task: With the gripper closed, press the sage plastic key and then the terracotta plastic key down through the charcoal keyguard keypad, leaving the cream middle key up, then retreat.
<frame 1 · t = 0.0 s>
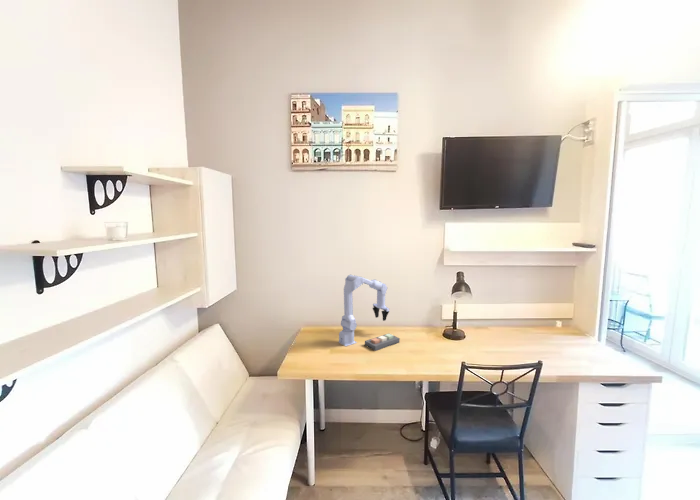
hand: (380, 318, 231), 10 cm above the table, tool pointing down, fingers open, 7 cm apart
terracotta key: (375, 340, 209), point 4 cm above the table, slide at 0.0 cm
sage key: (389, 336, 216), point 4 cm above the table, slide at 0.0 cm
keypad: (382, 343, 213), on the table
cream key: (382, 338, 213), point 4 cm above the table, slide at 0.0 cm
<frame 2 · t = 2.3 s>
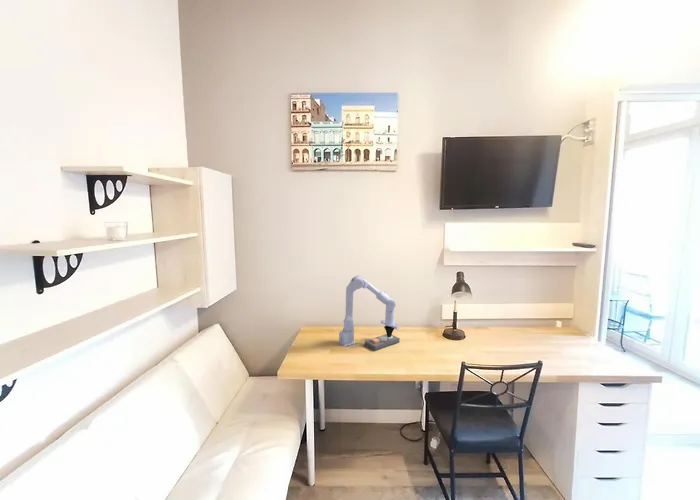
hand: (389, 336, 216), 3 cm above the table, tool pointing down, fingers closed, pressing on sage key
sage key: (389, 338, 216), point 2 cm above the table, slide at 1.1 cm, touching gripper
everything else where it was.
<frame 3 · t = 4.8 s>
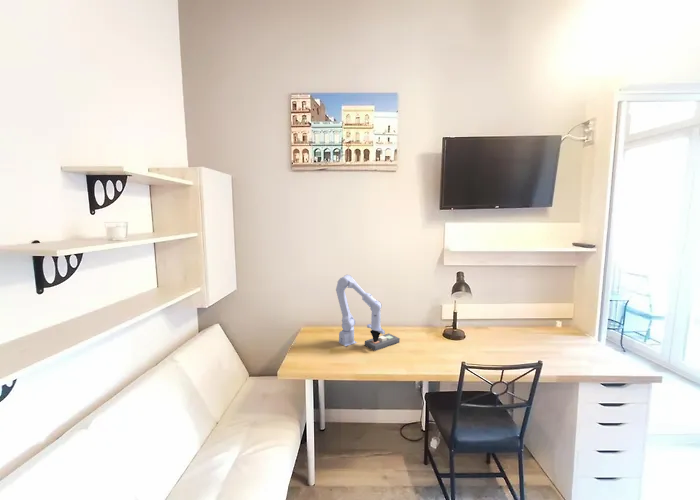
hand: (375, 341, 209), 3 cm above the table, tool pointing down, fingers closed, pressing on terracotta key
terracotta key: (375, 342, 209), point 2 cm above the table, slide at 1.3 cm, touching gripper
sage key: (389, 338, 216), point 2 cm above the table, slide at 1.3 cm
everything else where it was.
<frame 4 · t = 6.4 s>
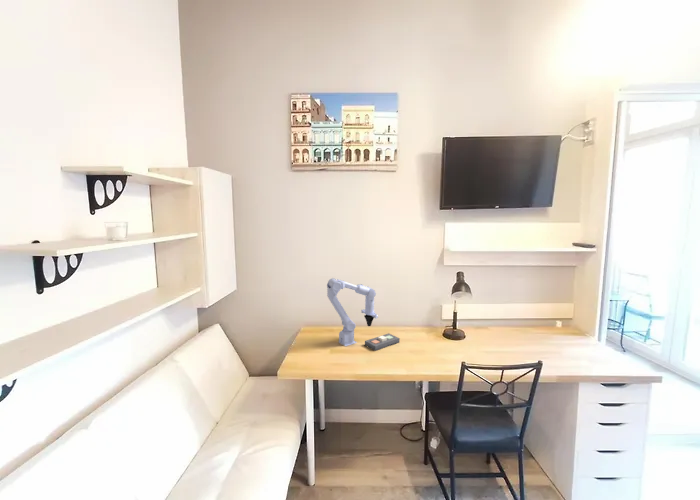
hand: (369, 325, 219), 9 cm above the table, tool pointing down, fingers closed
terracotta key: (375, 342, 209), point 2 cm above the table, slide at 1.3 cm
everything else where it was.
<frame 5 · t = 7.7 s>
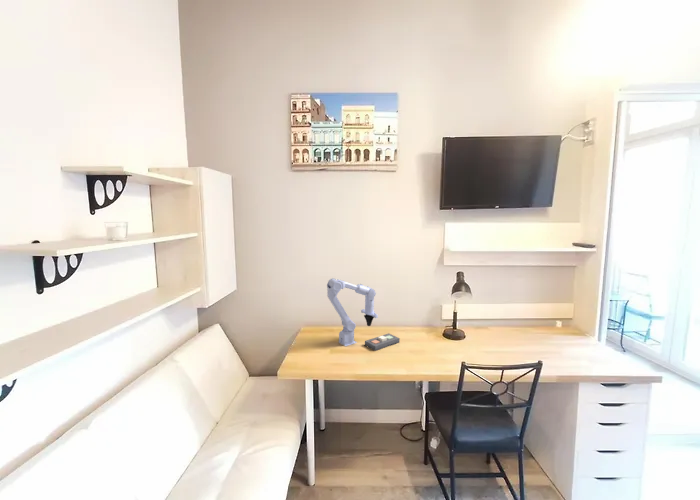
hand: (369, 325, 219), 9 cm above the table, tool pointing down, fingers closed
nothing on the table moved.
at the end: sage key slide at 1.3 cm; terracotta key slide at 1.3 cm; cream key slide at 0.0 cm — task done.
